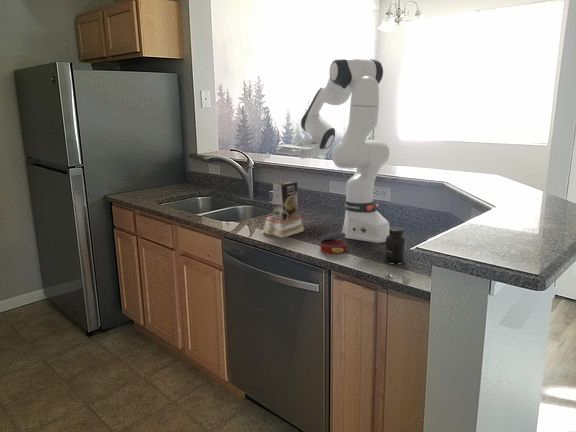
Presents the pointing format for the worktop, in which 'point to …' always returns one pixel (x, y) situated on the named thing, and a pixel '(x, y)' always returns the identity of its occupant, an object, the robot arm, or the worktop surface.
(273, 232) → the tower base
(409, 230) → the worktop surface
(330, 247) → the canned food
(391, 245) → the supplement bottle
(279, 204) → the coffee box
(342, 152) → the robot arm
